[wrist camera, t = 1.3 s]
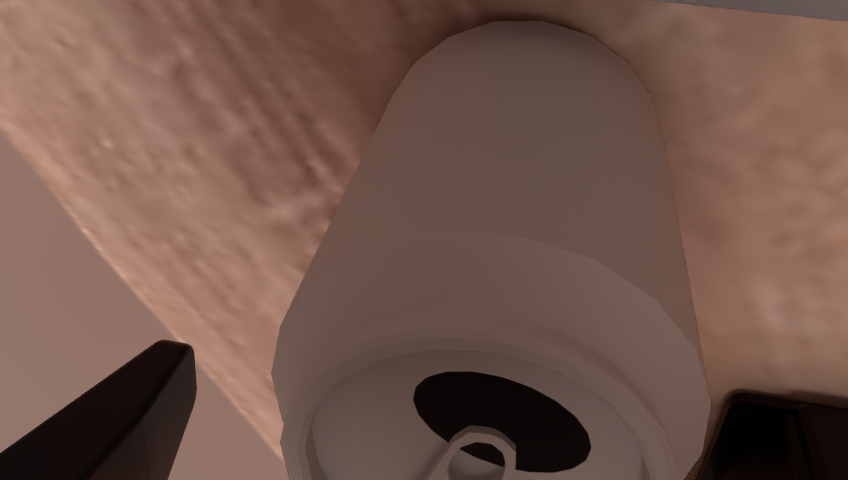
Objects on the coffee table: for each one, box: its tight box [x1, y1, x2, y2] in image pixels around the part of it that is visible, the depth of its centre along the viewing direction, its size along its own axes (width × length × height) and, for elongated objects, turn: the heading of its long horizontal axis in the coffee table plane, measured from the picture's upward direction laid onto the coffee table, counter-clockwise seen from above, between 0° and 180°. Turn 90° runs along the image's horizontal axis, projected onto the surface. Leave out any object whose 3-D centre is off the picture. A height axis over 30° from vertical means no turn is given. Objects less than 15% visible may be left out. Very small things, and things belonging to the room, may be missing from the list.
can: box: [271, 21, 711, 480], centre depth 17 cm, size 8×8×12 cm
